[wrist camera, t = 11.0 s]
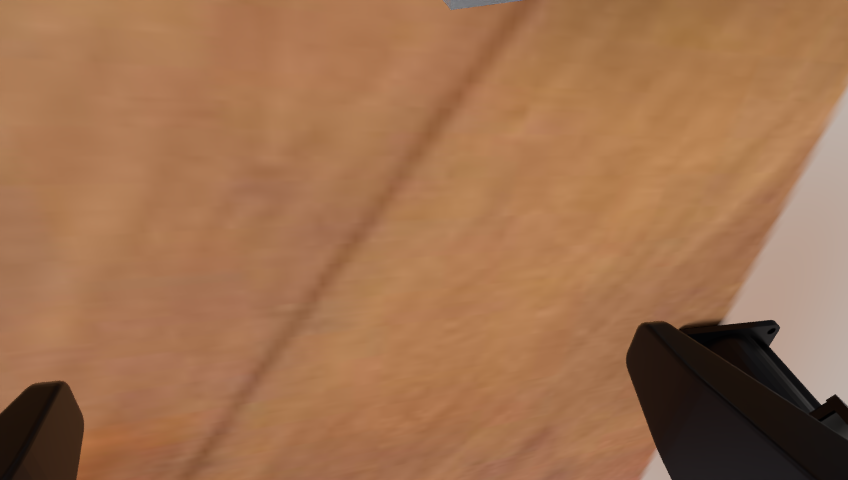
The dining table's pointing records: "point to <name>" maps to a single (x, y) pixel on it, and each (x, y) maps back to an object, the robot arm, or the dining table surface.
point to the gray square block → (472, 3)
